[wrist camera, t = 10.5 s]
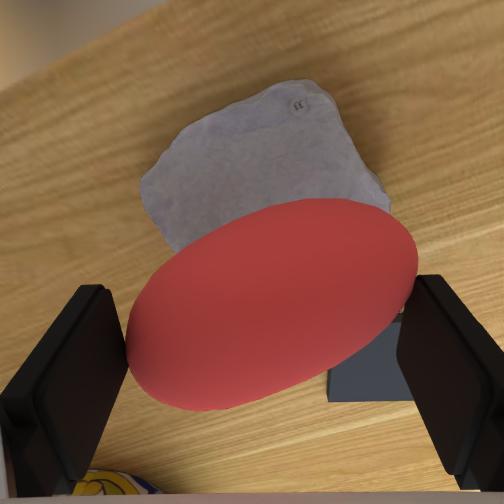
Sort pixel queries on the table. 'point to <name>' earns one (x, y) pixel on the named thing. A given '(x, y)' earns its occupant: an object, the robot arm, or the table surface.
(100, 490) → the table lamp
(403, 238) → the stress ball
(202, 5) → the table surface
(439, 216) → the table surface
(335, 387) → the felt pad
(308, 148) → the stone block
